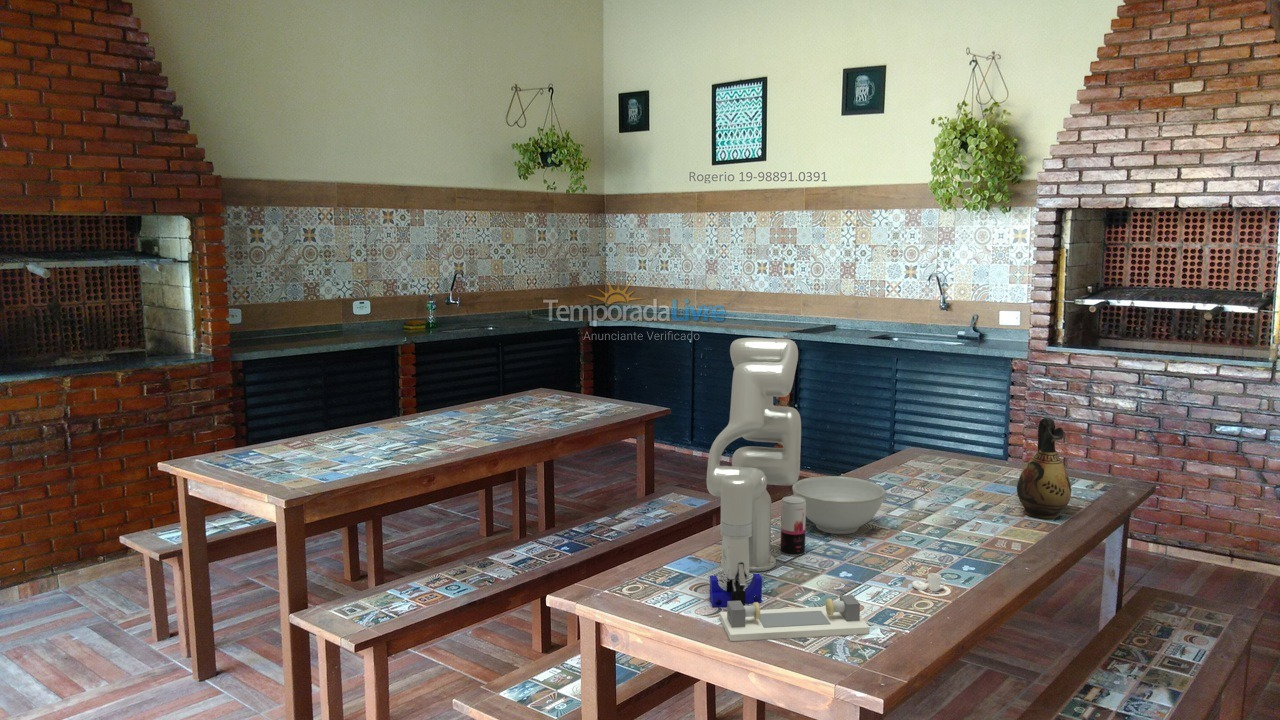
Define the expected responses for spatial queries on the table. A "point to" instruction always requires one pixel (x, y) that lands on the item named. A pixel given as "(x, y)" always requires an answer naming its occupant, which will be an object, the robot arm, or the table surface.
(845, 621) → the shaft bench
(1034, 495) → the ceramic jug
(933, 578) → the teacup and saucer
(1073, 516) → the table surface
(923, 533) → the table surface
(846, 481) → the decorative bowl
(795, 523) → the beverage can
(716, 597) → the blue cradle bracket
